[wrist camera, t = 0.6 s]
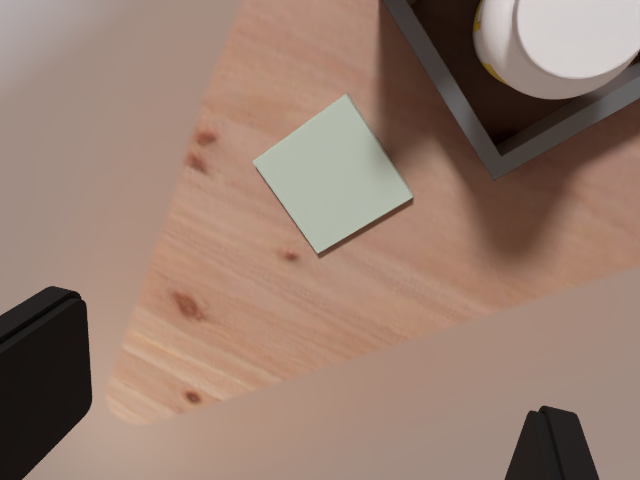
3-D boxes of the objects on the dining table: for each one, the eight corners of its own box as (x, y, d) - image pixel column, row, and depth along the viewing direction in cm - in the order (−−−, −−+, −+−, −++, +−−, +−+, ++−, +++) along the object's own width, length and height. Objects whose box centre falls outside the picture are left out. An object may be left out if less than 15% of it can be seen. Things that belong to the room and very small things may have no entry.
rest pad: (347, 93, 33) (345, 94, 33) (413, 195, 34) (412, 197, 34) (255, 159, 36) (252, 161, 36) (319, 250, 38) (317, 253, 37)
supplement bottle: (601, 67, 29) (704, 81, 18) (483, 99, 31) (505, 130, 20) (586, -58, 28) (689, -136, 16) (461, -16, 30) (471, -57, 18)
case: (594, -183, 26) (688, -328, 16) (707, 41, 28) (853, 38, 18) (378, -12, 31) (346, -40, 21) (489, 167, 33) (508, 221, 23)
